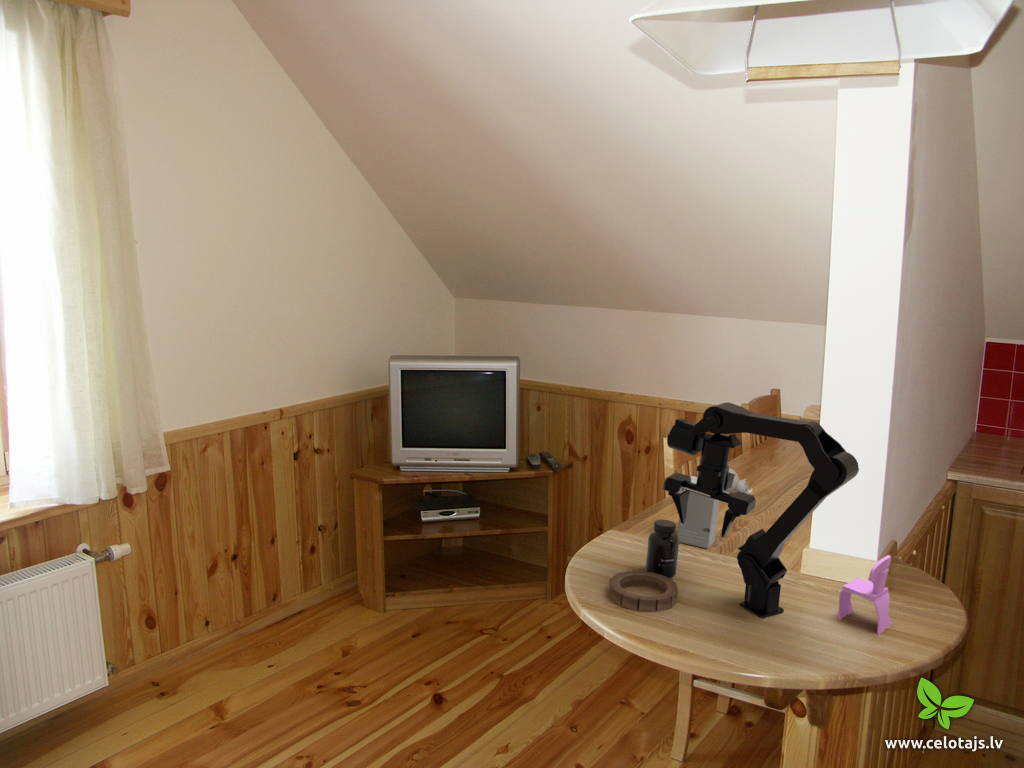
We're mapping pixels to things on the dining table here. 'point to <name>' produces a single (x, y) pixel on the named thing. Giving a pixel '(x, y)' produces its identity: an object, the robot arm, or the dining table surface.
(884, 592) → the toy chair
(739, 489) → the chubby cartoon animal
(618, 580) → the segmented ring
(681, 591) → the dining table surface
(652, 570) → the supplement bottle
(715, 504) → the skincare box
